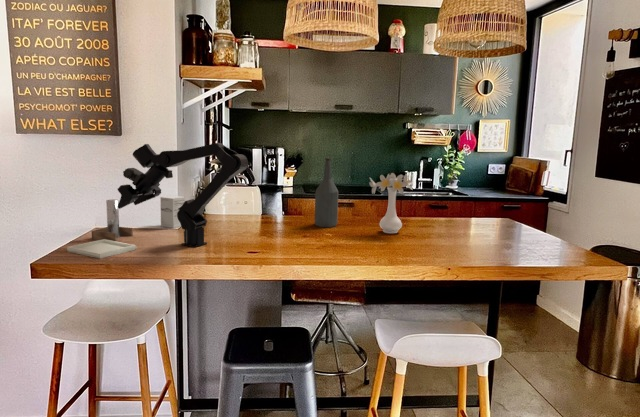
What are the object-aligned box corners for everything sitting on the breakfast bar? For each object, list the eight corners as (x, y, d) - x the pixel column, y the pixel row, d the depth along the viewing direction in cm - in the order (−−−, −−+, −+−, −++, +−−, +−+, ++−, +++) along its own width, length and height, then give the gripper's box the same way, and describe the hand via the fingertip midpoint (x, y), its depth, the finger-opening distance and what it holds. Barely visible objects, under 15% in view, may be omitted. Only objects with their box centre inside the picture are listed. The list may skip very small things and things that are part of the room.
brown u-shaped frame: (133, 235, 179) (132, 227, 178) (115, 241, 169) (114, 233, 168) (110, 233, 181) (110, 226, 180) (91, 239, 171) (91, 231, 170)
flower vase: (363, 229, 202) (365, 171, 198) (402, 228, 207) (405, 171, 203) (375, 236, 190) (378, 174, 186) (416, 234, 195) (419, 174, 191)
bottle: (310, 223, 212) (312, 157, 207) (329, 222, 217) (331, 157, 212) (321, 228, 203) (323, 158, 198) (341, 226, 208) (343, 158, 203)
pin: (122, 237, 176) (120, 200, 173) (112, 239, 172) (111, 201, 170) (114, 235, 177) (113, 199, 175) (105, 237, 174) (103, 200, 172)
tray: (136, 249, 158) (136, 245, 158) (99, 258, 146) (99, 253, 146) (104, 243, 165) (104, 239, 165) (67, 251, 153) (66, 247, 153)
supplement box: (160, 226, 197) (159, 196, 195) (173, 223, 203) (172, 194, 201) (173, 228, 193) (172, 198, 191) (186, 225, 200) (185, 196, 198)
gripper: (153, 159, 177) (128, 186, 181) (121, 161, 159) (94, 192, 163) (172, 181, 176) (147, 208, 180) (142, 186, 158) (115, 216, 162)
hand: (126, 205), depth 171 cm, fingers open, 9 cm apart
